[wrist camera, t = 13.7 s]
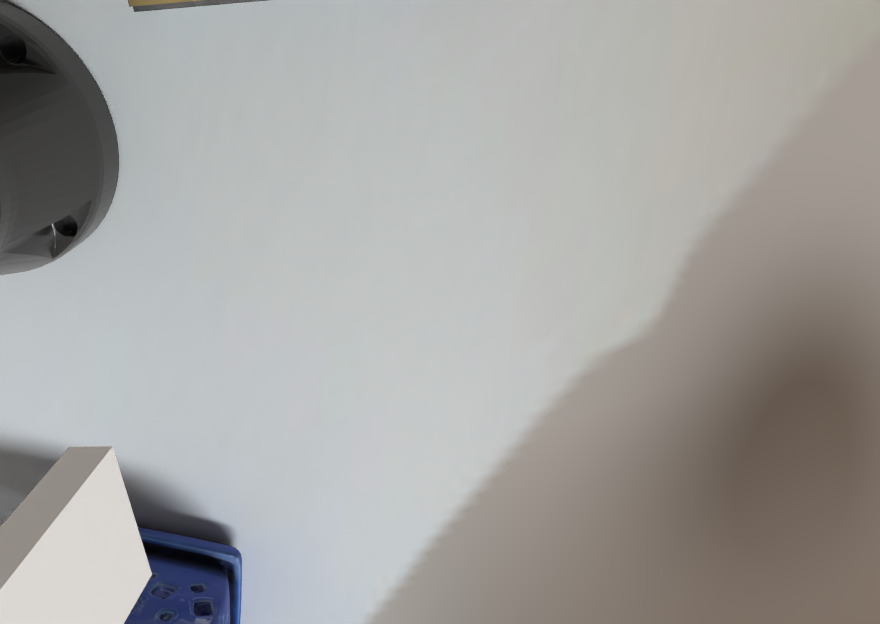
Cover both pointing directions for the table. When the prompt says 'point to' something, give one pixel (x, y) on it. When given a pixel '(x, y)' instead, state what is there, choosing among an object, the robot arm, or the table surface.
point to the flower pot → (188, 581)
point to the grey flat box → (177, 3)
